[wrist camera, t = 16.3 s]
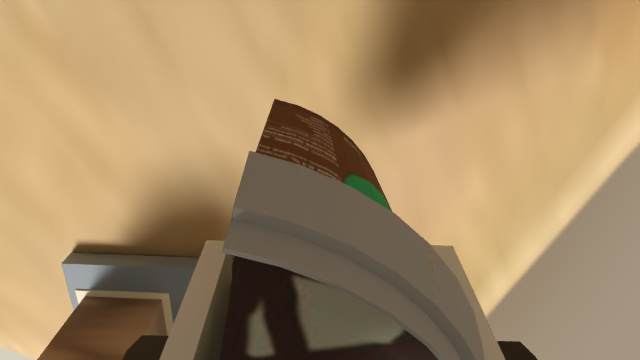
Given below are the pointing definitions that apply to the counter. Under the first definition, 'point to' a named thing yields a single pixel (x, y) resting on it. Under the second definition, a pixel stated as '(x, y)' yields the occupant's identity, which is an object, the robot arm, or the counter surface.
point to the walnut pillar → (106, 328)
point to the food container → (332, 259)
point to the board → (130, 278)
